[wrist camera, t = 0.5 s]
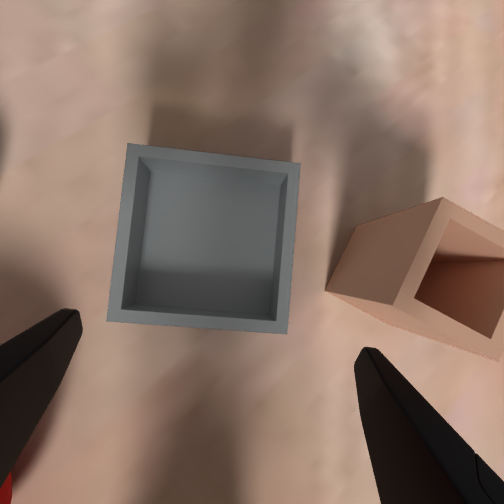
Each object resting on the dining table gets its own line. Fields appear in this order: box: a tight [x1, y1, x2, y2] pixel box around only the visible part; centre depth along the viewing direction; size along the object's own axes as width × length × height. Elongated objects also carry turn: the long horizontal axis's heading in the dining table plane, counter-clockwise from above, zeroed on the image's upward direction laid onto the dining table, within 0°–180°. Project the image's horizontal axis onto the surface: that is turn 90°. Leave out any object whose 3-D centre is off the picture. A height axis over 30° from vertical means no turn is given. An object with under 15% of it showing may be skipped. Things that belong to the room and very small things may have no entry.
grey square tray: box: [107, 143, 301, 334], centre depth 22 cm, size 12×12×4 cm
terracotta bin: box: [325, 197, 504, 362], centre depth 20 cm, size 6×6×10 cm
